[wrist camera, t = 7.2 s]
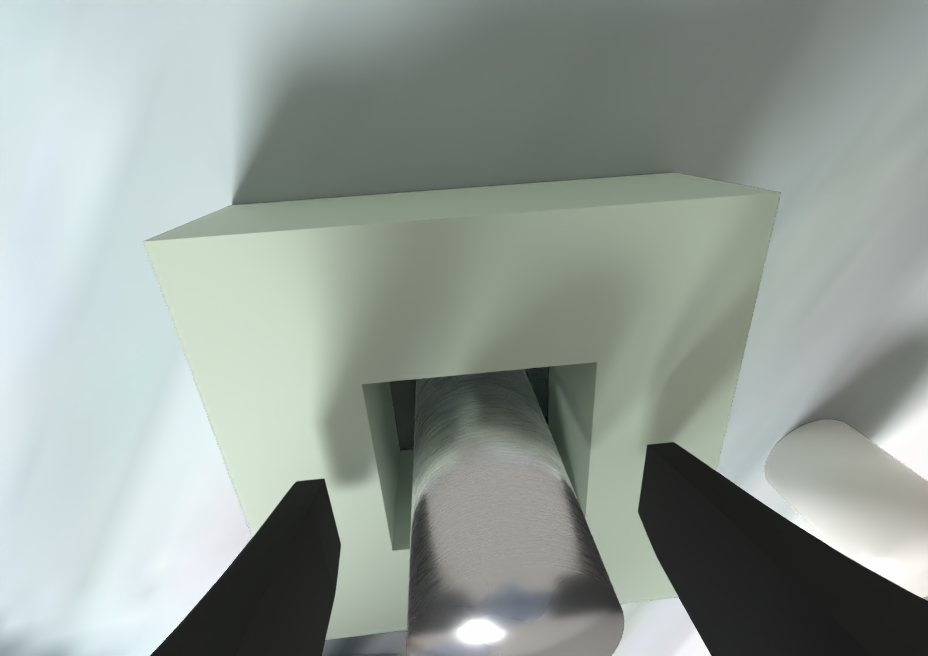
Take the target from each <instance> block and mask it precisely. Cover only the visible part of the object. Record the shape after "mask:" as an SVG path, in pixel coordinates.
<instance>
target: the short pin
mask: <svg viewBox="0 0 928 656" xmlns="http://www.w3.org/2000/svg"><path fill="white" fill-rule="evenodd" d="M764 472H765V477H766V480H767V482H768V483H769V484H770V485H771V486H772V487H773V488H774V489H775V491H776V492H777V493H778V494H779V495H780V496H781V497H782V498H783V499H784V500H785V501H786V502H787V503H788V504H789V505H790V506H791V507H792V508H793V509H794V510H795V511H796V512H797V513H798V514H799V516H800V517H801V518H802V519H803V520H804V521H805V522H806V523H807V524H808V525H809V526H810V527H811V528H812V529H813V530H814V531H815V532H816V533H817V534H818V535H819V536H820V537H821V538H822V539H823V540H824V542H825V543H826V544H827V545H829V546H830V547H832V548H834V549H835V550H837V551H839V552H840V553H842V554H844V555H845V556H847V557H849V558H851V559H852V560H854V561H856V562H857V563H859V564H861V565H863V566H864V567H866V568H868V569H870V570H872V571H873V572H875V573H877V574H879V575H881V576H882V577H884V578H886V579H888V580H890V581H892V582H893V583H895V584H897V585H899V586H901V587H902V588H904V589H906V590H908V591H910V592H911V593H913V594H915V595H917V596H919V597H921V598H923V597H926V596H928V481H927V480H925V479H924V478H923V477H921V476H920V475H918V474H917V473H915V472H914V471H913V470H911V469H910V468H908V467H907V466H906V465H904V464H903V463H901V462H900V461H898V460H897V459H896V458H894V457H893V456H891V455H890V454H889V453H887V452H886V451H884V450H883V449H882V448H880V447H879V446H877V445H876V444H874V443H873V442H872V441H870V440H869V439H867V438H866V437H865V436H863V435H862V434H860V433H859V432H857V431H856V430H855V429H853V428H852V427H850V426H849V425H847V424H846V423H844V422H841V421H837V420H819V421H814V422H811V423H808V424H805V425H803V426H800V427H798V428H797V429H795V430H793V431H791V432H790V433H789V434H787V435H786V436H785V437H783V438H782V439H781V440H780V441H779V442H778V443H777V444H776V445H775V447H774V448H773V449H772V451H771V452H770V454H769V456H768V458H767V460H766V463H765V470H764Z"/></svg>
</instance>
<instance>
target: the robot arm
mask: <svg viewBox="0 0 928 656" xmlns="http://www.w3.org/2000/svg"><path fill="white" fill-rule="evenodd" d="M638 514H639V516H640V519H641V521H642V524H643V526H644V529H645V531H646V534H647V536H648V538H649V541H650V543H651V545H652V548H653V550H654V552H655V555H656V557H657V559H658V561H659V562H660V564H661V566H662V568H663V570H664V572H665V573H666V575H667V577H668V579H669V581H670V582H671V584H672V586H673V588H674V590H675V592H676V593H677V595H678V597H679V599H680V600H681V602H682V604H683V606H684V608H685V609H686V611H687V613H688V615H689V617H690V618H691V620H692V622H693V624H694V625H695V627H696V629H697V631H698V633H699V634H700V636H701V638H702V640H703V641H704V643H705V645H706V647H707V649H708V650H709V652H710V654H711V656H928V601H927V600H925V599H923V598H921V597H919V596H917V595H915V594H913V593H911V592H910V591H908V590H906V589H904V588H902V587H901V586H899V585H897V584H895V583H893V582H892V581H890V580H888V579H886V578H884V577H882V576H881V575H879V574H877V573H875V572H873V571H872V570H870V569H868V568H866V567H864V566H863V565H861V564H859V563H857V562H856V561H854V560H852V559H851V558H849V557H847V556H845V555H844V554H842V553H840V552H839V551H837V550H835V549H834V548H832V547H830V546H829V545H827V544H826V543H824V542H822V541H821V540H819V539H817V538H816V537H814V536H813V535H811V534H809V533H808V532H806V531H805V530H803V529H801V528H800V527H798V526H797V525H795V524H793V523H792V522H790V521H789V520H787V519H786V518H784V517H783V516H781V515H780V514H778V513H777V512H775V511H774V510H772V509H771V508H769V507H768V506H766V505H765V504H763V503H762V502H760V501H759V500H757V499H756V498H754V497H753V496H751V495H750V494H748V493H747V492H745V491H744V490H743V489H741V488H740V487H738V486H737V485H735V484H734V483H732V482H731V481H730V480H728V479H727V478H725V477H724V476H722V475H721V474H720V473H718V472H717V471H715V470H714V469H712V468H711V467H710V466H708V465H707V464H705V463H704V462H702V461H701V460H700V459H698V458H697V457H695V456H694V455H692V454H691V453H689V452H688V451H687V450H685V449H684V448H682V447H681V446H679V445H678V444H676V443H674V442H668V443H658V444H649V445H647V449H646V456H645V464H644V471H643V478H642V485H641V492H640V499H639V506H638ZM340 551H341V542H340V538H339V534H338V530H337V526H336V522H335V518H334V514H333V510H332V506H331V502H330V498H329V494H328V490H327V486H326V482H325V478H323V479H313V480H304V481H296V482H295V483H294V484H293V485H292V487H291V488H290V489H289V491H288V492H287V493H286V494H285V496H284V497H283V498H282V500H281V501H280V502H279V504H278V505H277V506H276V508H275V509H274V510H273V512H272V513H271V514H270V515H269V517H268V518H267V519H266V521H265V522H264V523H263V525H262V526H261V527H260V528H259V530H258V531H257V532H256V534H255V535H254V536H253V538H252V539H251V540H250V541H249V543H248V544H247V545H246V546H245V548H244V549H243V550H242V551H241V552H240V554H239V555H238V556H237V557H236V559H235V560H234V561H233V562H232V564H231V565H230V566H229V567H228V569H227V570H226V571H225V572H224V574H223V575H222V576H221V577H220V578H219V580H218V581H217V582H216V583H215V584H214V585H213V586H212V588H211V589H210V590H209V591H208V592H207V593H206V595H205V596H204V597H203V598H202V599H201V600H200V601H199V603H198V604H197V605H196V606H195V607H194V608H193V609H192V611H191V612H190V613H189V614H188V615H187V616H186V618H185V619H184V620H183V621H182V622H181V623H180V624H179V625H178V626H177V628H176V629H175V630H174V631H173V632H172V633H171V634H170V635H169V636H168V637H167V638H166V639H165V641H164V642H163V643H162V644H161V645H160V646H159V647H158V648H157V649H156V650H155V651H154V652H153V653H152V654H151V655H150V656H322V651H323V647H324V643H325V639H326V634H327V630H328V625H329V621H330V616H331V612H332V607H333V603H334V598H335V593H336V585H337V578H338V569H339V560H340Z"/></svg>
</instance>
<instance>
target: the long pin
mask: <svg viewBox="0 0 928 656" xmlns="http://www.w3.org/2000/svg"><path fill="white" fill-rule="evenodd" d="M623 630H624V615H623V611H622V608H621V606H620V603H619V601H618V598H617V596H616V593H615V591H614V588H613V586H612V583H611V581H610V578H609V576H608V573H607V571H606V568H605V566H604V564H603V561H602V559H601V556H600V554H599V551H598V549H597V546H596V544H595V541H594V539H593V536H592V534H591V531H590V529H589V527H588V524H587V522H586V519H585V517H584V514H583V512H582V509H581V507H580V504H579V502H578V499H577V497H576V494H575V492H574V490H573V487H572V485H571V482H570V480H569V477H568V475H567V472H566V470H565V467H564V465H563V462H562V460H561V457H560V455H559V453H558V450H557V448H556V445H555V443H554V440H553V438H552V435H551V433H550V430H549V428H548V425H547V423H546V420H545V418H544V416H543V413H542V411H541V408H540V406H539V403H538V401H537V398H536V396H535V393H534V391H533V388H532V386H531V383H530V381H529V379H528V376H527V374H526V371H525V369H518V370H508V371H497V372H487V373H476V374H465V375H455V376H444V377H433V378H423V379H416V398H415V425H414V452H413V479H412V506H411V533H410V560H409V586H408V613H407V640H406V649H407V656H612V654H613V653H614V651H615V650H616V648H617V647H618V645H619V642H620V640H621V638H622V634H623Z"/></svg>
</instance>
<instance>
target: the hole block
mask: <svg viewBox="0 0 928 656" xmlns="http://www.w3.org/2000/svg"><path fill="white" fill-rule="evenodd" d="M780 195H781V192H776V191H771V190H765V189H760V188H755V187H749V186H744V185H739V184H734V183H728V182H723V181H718V180H713V179H707V178H702V177H697V176H691V175H686V174H681V173H676V172H674V173H661V174H647V175H634V176H620V177H607V178H593V179H579V180H566V181H552V182H539V183H525V184H512V185H498V186H485V187H471V188H457V189H444V190H430V191H417V192H403V193H390V194H376V195H362V196H349V197H335V198H322V199H308V200H295V201H281V202H268V203H254V204H240V205H230V206H228V207H225V208H223V209H220V210H218V211H215V212H213V213H211V214H208V215H206V216H203V217H201V218H199V219H196V220H194V221H191V222H189V223H186V224H184V225H182V226H179V227H177V228H174V229H172V230H170V231H167V232H165V233H162V234H160V235H157V236H155V237H153V238H150V239H148V240H145V241H143V244H144V246H145V249H146V252H147V254H148V257H149V260H150V263H151V265H152V268H153V271H154V273H155V276H156V279H157V282H158V284H159V287H160V290H161V292H162V295H163V298H164V300H165V303H166V306H167V309H168V311H169V314H170V317H171V319H172V322H173V325H174V328H175V330H176V333H177V336H178V338H179V341H180V344H181V346H182V349H183V352H184V355H185V357H186V360H187V363H188V365H189V368H190V371H191V374H192V376H193V379H194V382H195V384H196V387H197V390H198V392H199V395H200V398H201V401H202V403H203V406H204V409H205V411H206V414H207V417H208V420H209V422H210V425H211V428H212V430H213V433H214V436H215V438H216V441H217V444H218V447H219V449H220V452H221V455H222V457H223V460H224V463H225V466H226V468H227V471H228V474H229V476H230V479H231V482H232V484H233V487H234V490H235V493H236V495H237V498H238V501H239V503H240V506H241V509H242V512H243V514H244V517H245V520H246V522H247V525H248V528H249V531H250V533H251V536H252V538H253V536H254V535H255V534H256V532H257V531H258V530H259V528H260V527H261V526H262V525H263V523H264V522H265V521H266V519H267V518H268V517H269V515H270V514H271V513H272V512H273V510H274V509H275V508H276V506H277V505H278V504H279V502H280V501H281V500H282V498H283V497H284V496H285V494H286V493H287V492H288V491H289V489H290V488H291V487H292V485H293V484H294V483H295V482H296V481H304V480H313V479H323V478H325V482H326V486H327V490H328V494H329V498H330V502H331V506H332V510H333V514H334V518H335V522H336V526H337V530H338V534H339V538H340V542H341V551H340V560H339V569H338V578H337V585H336V593H335V598H334V603H333V607H332V612H331V616H330V621H329V625H328V630H327V634H326V639H325V640H330V639H338V638H346V637H355V636H363V635H371V634H379V633H388V632H396V631H404V630H407V613H408V586H409V560H410V533H411V506H412V479H413V452H414V449H412V450H402V451H400V447H399V440H398V434H397V427H396V421H395V414H394V408H393V401H392V395H391V388H390V382H391V381H401V380H412V379H423V378H433V377H444V376H455V375H465V374H476V373H487V372H497V371H508V370H518V369H529V368H540V367H549V397H548V428H549V430H550V433H551V435H552V438H553V440H554V443H555V445H556V448H557V450H558V453H559V455H560V457H561V460H562V462H563V465H564V467H565V470H566V472H567V475H568V477H569V480H570V482H571V485H572V487H573V490H574V492H575V494H576V497H577V499H578V502H579V504H580V507H581V509H582V512H583V514H584V517H585V519H586V522H587V524H588V527H589V529H590V531H591V534H592V536H593V539H594V541H595V544H596V546H597V549H598V551H599V554H600V556H601V559H602V561H603V564H604V566H605V568H606V571H607V573H608V576H609V578H610V581H611V583H612V586H613V588H614V591H615V593H616V596H617V598H618V601H619V603H620V604H627V603H636V602H644V601H652V600H660V599H669V598H677V597H678V595H677V593H676V592H675V590H674V588H673V586H672V584H671V582H670V581H669V579H668V577H667V575H666V573H665V572H664V570H663V568H662V566H661V564H660V562H659V561H658V559H657V557H656V555H655V552H654V550H653V548H652V545H651V543H650V541H649V538H648V536H647V534H646V531H645V529H644V526H643V524H642V521H641V519H640V516H639V514H638V506H639V499H640V492H641V485H642V478H643V471H644V464H645V456H646V449H647V445H649V444H658V443H668V442H674V443H676V444H678V445H679V446H681V447H682V448H684V449H685V450H687V451H688V452H689V453H691V454H692V455H694V456H695V457H697V458H698V459H700V460H701V461H702V462H704V463H705V464H707V465H708V466H710V467H711V468H712V469H714V470H715V471H717V466H718V462H719V458H720V453H721V449H722V445H723V441H724V436H725V432H726V428H727V423H728V419H729V415H730V410H731V406H732V402H733V397H734V393H735V389H736V385H737V380H738V376H739V372H740V367H741V363H742V359H743V354H744V350H745V346H746V342H747V337H748V333H749V329H750V324H751V320H752V316H753V311H754V307H755V303H756V299H757V294H758V290H759V286H760V281H761V277H762V273H763V268H764V264H765V260H766V256H767V251H768V247H769V243H770V238H771V234H772V230H773V225H774V221H775V217H776V213H777V208H778V204H779V200H780Z"/></svg>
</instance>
